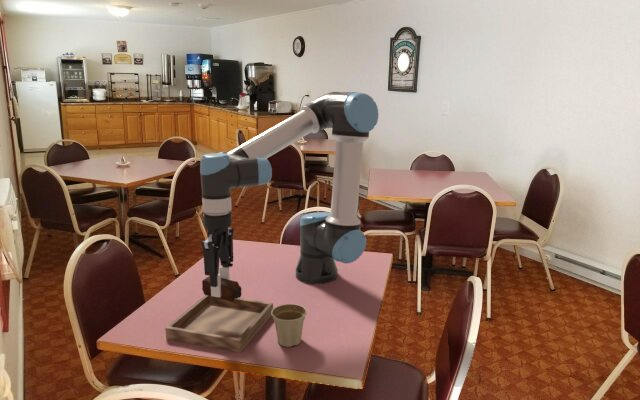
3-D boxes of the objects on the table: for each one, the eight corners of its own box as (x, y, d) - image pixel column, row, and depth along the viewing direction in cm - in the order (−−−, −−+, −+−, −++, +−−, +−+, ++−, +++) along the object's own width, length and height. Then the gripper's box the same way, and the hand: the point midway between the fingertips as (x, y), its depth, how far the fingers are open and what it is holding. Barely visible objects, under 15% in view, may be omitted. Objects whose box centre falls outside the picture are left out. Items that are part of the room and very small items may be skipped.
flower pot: (272, 332, 127) (271, 303, 125) (305, 331, 128) (305, 302, 126) (271, 351, 118) (270, 321, 116) (307, 350, 119) (307, 319, 117)
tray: (273, 313, 138) (273, 303, 137) (240, 352, 117) (239, 341, 117) (208, 303, 144) (207, 293, 143) (166, 338, 123) (165, 327, 123)
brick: (202, 295, 129) (201, 280, 127) (211, 289, 132) (210, 274, 131) (234, 303, 124) (233, 287, 123) (242, 297, 128) (241, 281, 127)
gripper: (220, 203, 132) (223, 278, 137) (186, 219, 115) (191, 304, 121) (244, 205, 130) (246, 281, 135) (213, 222, 113) (217, 308, 119)
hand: (220, 292), depth 128 cm, fingers closed on brick, 4 cm apart
